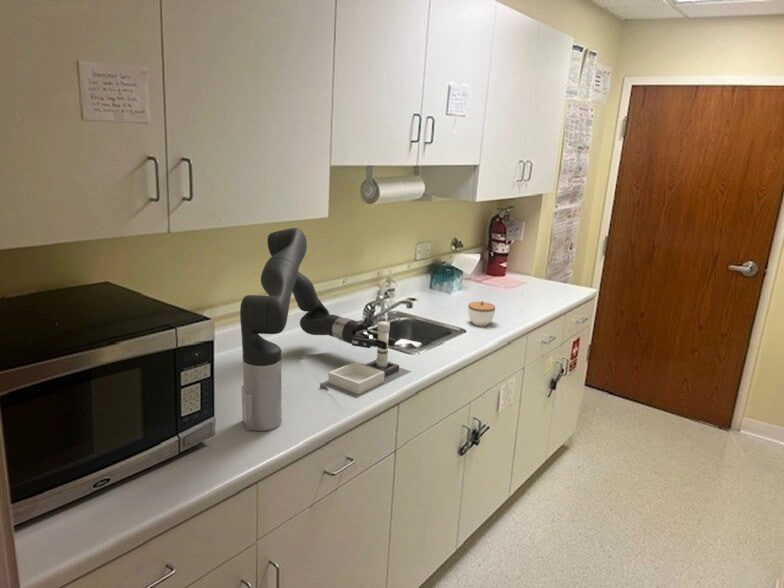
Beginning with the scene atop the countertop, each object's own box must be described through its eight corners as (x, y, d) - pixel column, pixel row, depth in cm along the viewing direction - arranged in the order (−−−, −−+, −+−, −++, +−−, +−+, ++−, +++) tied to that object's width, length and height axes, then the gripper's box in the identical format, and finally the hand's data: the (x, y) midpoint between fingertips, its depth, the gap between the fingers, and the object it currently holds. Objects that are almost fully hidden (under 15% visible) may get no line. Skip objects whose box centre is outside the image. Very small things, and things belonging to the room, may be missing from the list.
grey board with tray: (356, 401, 161) (357, 387, 160) (320, 387, 169) (320, 373, 168) (411, 374, 181) (411, 361, 180) (376, 363, 189) (376, 350, 188)
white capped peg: (378, 369, 177) (380, 325, 174) (374, 364, 181) (376, 321, 177) (389, 367, 179) (391, 324, 175) (384, 363, 182) (386, 320, 179)
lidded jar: (474, 328, 229) (476, 305, 227) (462, 320, 239) (464, 298, 236) (498, 327, 233) (500, 304, 230) (485, 319, 242) (487, 297, 240)
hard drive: (407, 353, 197) (421, 342, 208) (385, 348, 200) (400, 338, 211) (406, 357, 197) (421, 346, 208) (385, 352, 201) (400, 342, 211)
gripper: (334, 324, 180) (375, 338, 170) (365, 315, 191) (405, 328, 180) (333, 347, 182) (374, 362, 172) (364, 337, 193) (404, 351, 182)
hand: (390, 344), depth 176 cm, fingers closed on white capped peg, 3 cm apart
